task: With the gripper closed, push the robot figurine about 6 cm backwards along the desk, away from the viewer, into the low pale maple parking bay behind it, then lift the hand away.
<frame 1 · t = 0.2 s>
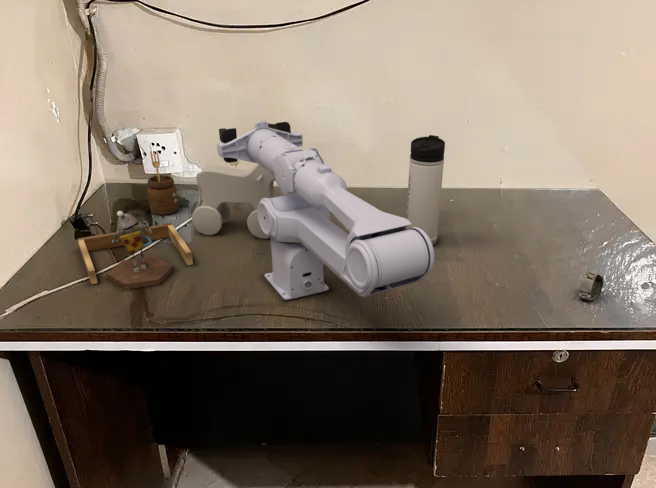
hand: (242, 131, 109), 21 cm above the table, tool horizontal, fingers open, 7 cm apart
pony: (247, 232, 124), on the table
wristwatch: (586, 296, 104), on the table
parking bay: (135, 257, 112), on the table
robot figurine: (142, 275, 107), on the table
travel mug: (421, 241, 122), on the table
utensil holder: (164, 211, 132), on the table
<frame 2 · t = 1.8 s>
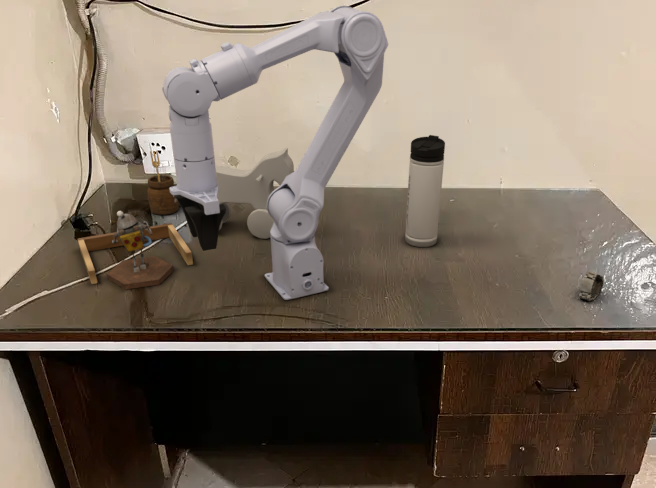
hand: (204, 242, 97), 9 cm above the table, tool pointing down, fingers open, 5 cm apart
nothing on the table moved.
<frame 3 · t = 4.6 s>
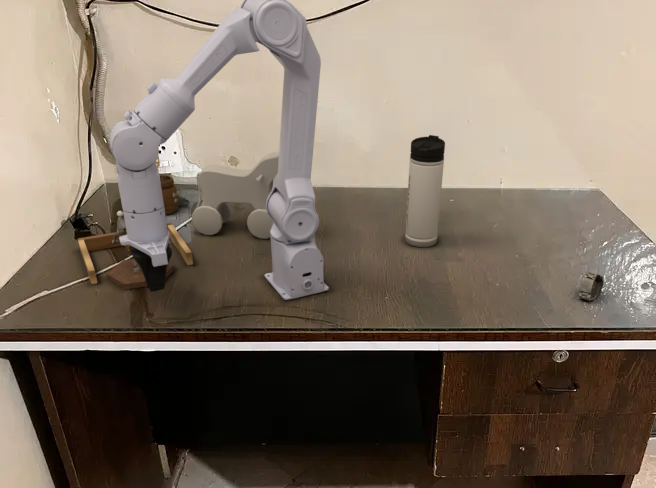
hand: (156, 288, 97), 3 cm above the table, tool pointing down, fingers closed
nothing on the table moved.
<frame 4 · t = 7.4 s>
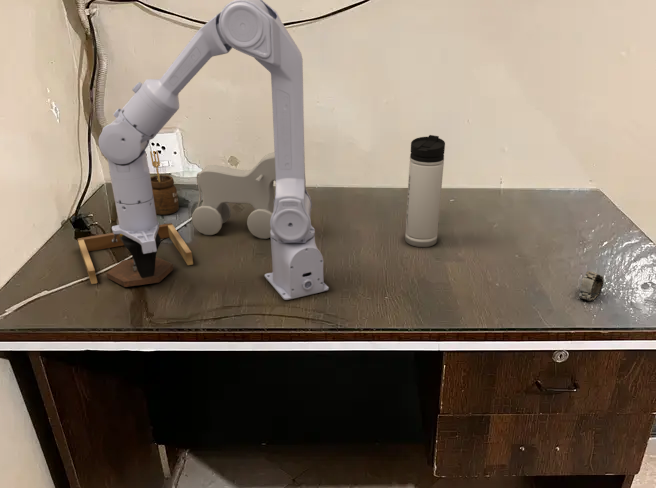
hand: (147, 275, 103), 1 cm above the table, tool pointing down, fingers closed
robot figurine: (142, 274, 107), on the table, touching gripper
everything else where it was.
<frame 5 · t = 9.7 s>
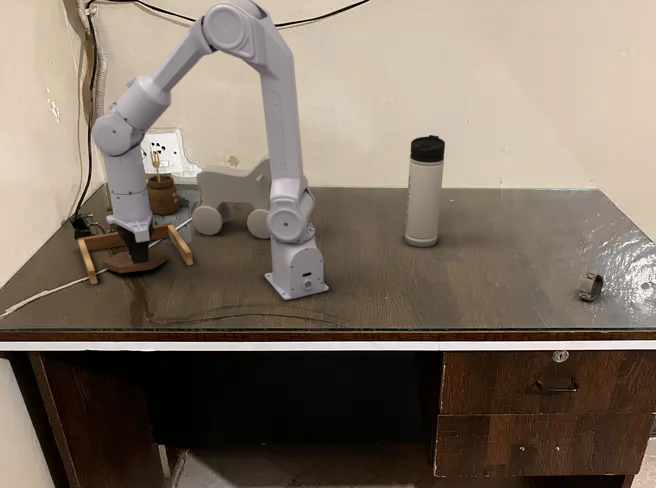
hand: (140, 264, 106), 2 cm above the table, tool pointing down, fingers closed, pressing on robot figurine
robot figurine: (137, 264, 109), on the table, touching gripper
everything else where it was.
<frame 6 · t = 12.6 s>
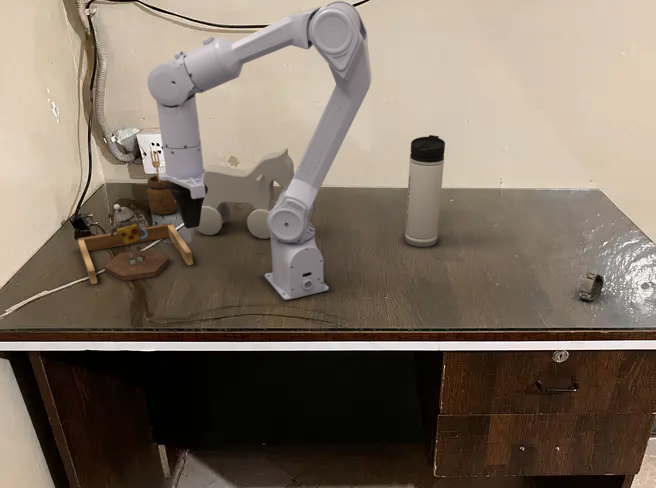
hand: (191, 226, 102), 9 cm above the table, tool pointing down, fingers closed
robot figurine: (138, 267, 109), on the table
everything else where it was.
at the end: robot figurine inside the target area (4.5 cm from its centre), on the table; robot figurine tilted 0° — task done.
